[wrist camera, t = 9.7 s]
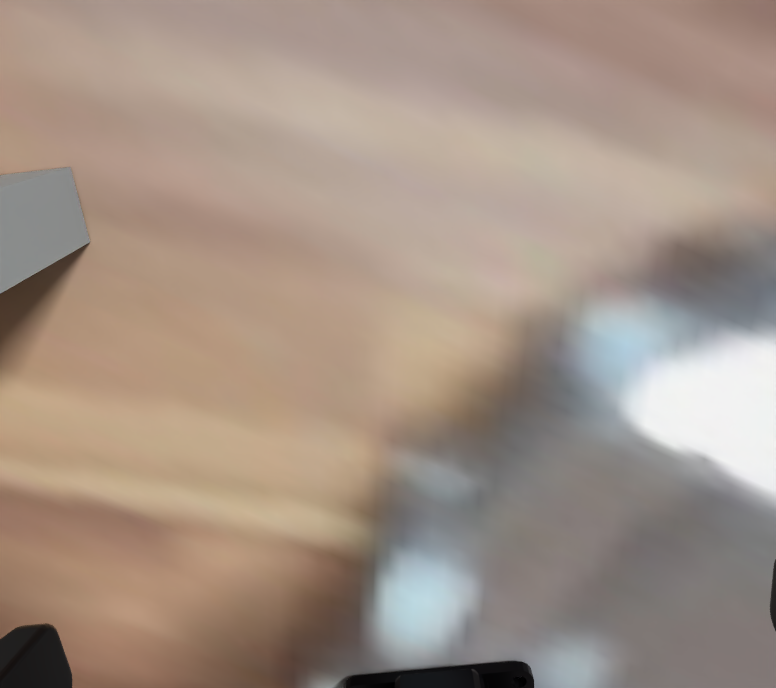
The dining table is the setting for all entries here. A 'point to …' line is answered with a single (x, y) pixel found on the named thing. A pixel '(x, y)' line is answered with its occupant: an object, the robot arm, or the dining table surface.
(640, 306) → the dining table surface
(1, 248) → the gray u-shaped block
